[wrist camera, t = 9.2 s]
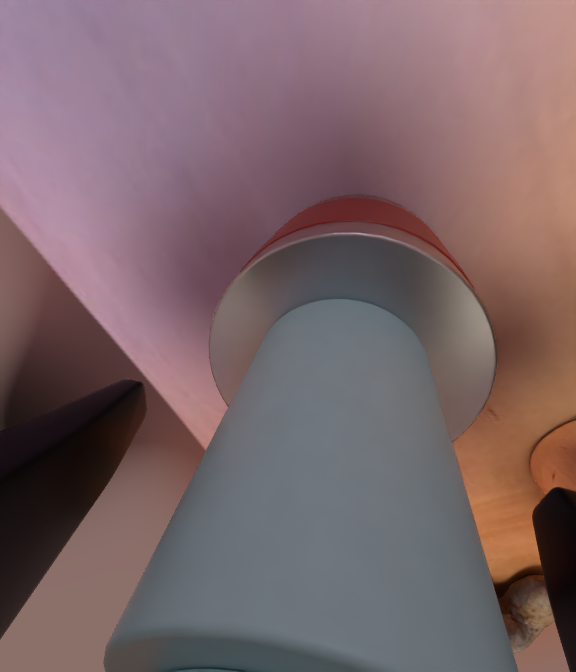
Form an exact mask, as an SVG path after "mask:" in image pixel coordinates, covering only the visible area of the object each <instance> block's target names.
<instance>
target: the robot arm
mask: <svg viewBox="0 0 576 672" xmlns="http://www.w3.org/2000/svg"><path fill="white" fill-rule="evenodd" d="M146 404H147V403H146V393H145V386H144V384H143V383H142V382H140V381H136V380H132V379H123V380H120V381H118V382H116V383H113V384H111V385H109V386H106V387H104V388H101V389H99V390H97V391H94V392H92V393H90V394H87V395H85V396H83V397H80V398H78V399H76V400H73V401H71V402H68V403H66V404H64V405H61V406H59V407H57V408H54V409H52V410H50V411H47V412H45V413H42V414H40V415H38V416H35V417H33V418H31V419H28V420H26V421H23V422H22V423H19V424H16V425H14V426H12V427H9V428H7V429H5V430H2V431H0V639H1V638H2V636H3V635H4V633H5V632H6V630H7V629H8V628H9V626H10V625H11V623H12V622H13V620H14V619H15V617H16V616H17V614H18V613H19V612H20V610H21V608H22V607H23V606H24V604H25V603H26V602H27V600H28V598H29V597H30V596H31V594H32V593H33V591H34V590H35V588H36V587H37V586H38V584H39V583H40V581H41V580H42V578H43V577H44V575H45V574H46V573H47V571H48V570H49V568H50V567H51V565H52V564H53V562H54V561H55V559H56V558H57V557H58V555H59V553H60V552H61V551H62V549H63V548H64V546H65V545H66V544H67V542H68V541H69V539H70V538H71V536H72V535H73V533H74V532H75V530H76V529H77V528H78V526H79V525H80V523H81V522H82V520H83V519H84V517H85V516H86V515H87V513H88V512H89V510H90V509H91V507H92V506H93V504H94V503H95V501H96V500H97V499H98V497H99V496H100V494H101V493H102V491H103V490H104V488H105V487H106V485H107V484H108V482H109V481H110V479H111V478H112V476H113V474H114V473H115V471H116V469H117V468H118V466H119V464H120V462H121V460H122V459H123V457H124V455H125V453H126V451H127V449H128V447H129V446H130V444H131V442H132V440H133V438H134V437H135V435H136V433H137V431H138V429H139V428H140V426H141V424H142V422H143V420H144V418H145V415H146V412H147V405H146ZM532 519H533V526H534V531H535V535H536V540H537V545H538V550H539V555H540V560H541V565H542V570H543V575H544V580H545V585H546V590H547V594H548V598H549V602H550V606H551V610H552V613H553V617H554V620H555V623H556V626H557V630H558V633H559V637H560V640H561V643H562V647H563V650H564V653H565V657H566V660H567V663H568V666H569V670H570V672H576V491H574V490H570V489H566V488H562V487H554V488H552V489H551V490H550V491H549V492H548V493H547V494H546V496H545V497H544V498H543V499H542V500H541V501H540V503H539V504H538V505H537V506H536V507H535V509H534V511H533V515H532Z"/></svg>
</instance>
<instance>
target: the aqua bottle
mask: <svg viewBox="0 0 576 672" xmlns="http://www.w3.org/2000/svg"><path fill="white" fill-rule="evenodd" d="M104 667H105V671H106V672H518V669H517V665H516V662H515V658H514V655H513V651H512V648H511V644H510V641H509V637H508V634H507V631H506V627H505V624H504V620H503V617H502V613H501V610H500V606H499V603H498V599H497V596H496V593H495V589H494V586H493V582H492V579H491V575H490V572H489V568H488V565H487V561H486V558H485V554H484V551H483V548H482V544H481V541H480V537H479V534H478V530H477V527H476V523H475V520H474V516H473V513H472V509H471V506H470V503H469V499H468V496H467V492H466V489H465V485H464V482H463V478H462V475H461V471H460V468H459V465H458V461H457V458H456V454H455V451H454V447H453V444H452V440H451V437H450V433H449V430H448V426H447V423H446V420H445V416H444V413H443V409H442V406H441V402H440V399H439V395H438V392H437V388H436V385H435V382H434V378H433V375H432V371H431V368H430V364H429V361H428V358H427V355H426V352H425V349H424V347H423V345H422V343H421V341H420V340H419V338H418V337H417V336H416V334H415V333H414V332H413V330H412V329H411V328H410V327H409V326H408V325H407V324H406V323H404V322H403V321H402V320H400V319H399V318H398V317H397V316H395V315H393V314H392V313H390V312H388V311H386V310H385V309H382V308H380V307H378V306H375V305H373V304H369V303H365V302H362V301H356V300H350V299H327V300H320V301H315V302H311V303H308V304H305V305H302V306H299V307H297V308H296V309H294V310H292V311H290V312H288V313H287V314H285V315H284V316H282V317H281V318H280V319H279V320H278V321H277V322H276V323H274V324H273V326H272V327H271V328H270V329H269V331H268V332H267V333H266V335H265V337H264V339H263V340H262V342H261V344H260V346H259V348H258V350H257V352H256V354H255V356H254V358H253V360H252V362H251V364H250V366H249V368H248V370H247V372H246V374H245V376H244V378H243V380H242V381H241V383H240V385H239V387H238V389H237V391H236V393H235V395H234V397H233V399H232V401H231V403H230V405H229V407H228V409H227V411H226V413H225V415H224V417H223V419H222V421H221V423H220V424H219V426H218V428H217V430H216V432H215V434H214V436H213V438H212V440H211V442H210V444H209V446H208V448H207V450H206V452H205V454H204V456H203V458H202V460H201V462H200V464H199V466H198V467H197V469H196V472H195V474H194V475H193V477H192V479H191V481H190V483H189V485H188V487H187V489H186V491H185V493H184V495H183V497H182V499H181V501H180V503H179V505H178V507H177V509H176V510H175V513H174V514H173V516H172V518H171V520H170V522H169V524H168V526H167V528H166V530H165V532H164V534H163V536H162V538H161V540H160V542H159V544H158V546H157V548H156V550H155V552H154V553H153V555H152V557H151V559H150V561H149V563H148V565H147V567H146V569H145V571H144V573H143V575H142V577H141V579H140V581H139V583H138V585H137V587H136V589H135V591H134V593H133V595H132V597H131V598H130V600H129V602H128V604H127V606H126V608H125V610H124V612H123V614H122V616H121V618H120V620H119V622H118V624H117V626H116V628H115V630H114V632H113V634H112V636H111V638H110V640H109V641H108V643H107V646H106V651H105V657H104Z"/></svg>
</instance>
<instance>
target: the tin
mask: <svg viewBox="0 0 576 672" xmlns="http://www.w3.org/2000/svg"><path fill="white" fill-rule="evenodd" d="M327 299H350V300H356V301H362V302H365V303H369V304H373V305H375V306H378V307H380V308H382V309H385V310H386V311H388V312H390V313H392V314H393V315H395V316H397V317H398V318H399V319H400V320H402V321H403V322H404V323H406V324H407V325H408V326H409V327H410V328H411V329H412V330H413V332H414V333H415V334H416V336H417V337H418V338H419V340H420V341H421V343H422V345H423V347H424V349H425V352H426V355H427V358H428V361H429V364H430V368H431V371H432V375H433V378H434V382H435V385H436V388H437V392H438V395H439V399H440V402H441V406H442V409H443V413H444V416H445V420H446V423H447V426H448V430H449V433H450V437H451V440H452V442H453V441H454V440H455V439H457V438H458V437H459V436H460V435H461V434H463V433H464V432H465V431H466V430H467V428H468V427H469V426H470V425H471V424H472V423H473V422H474V421H475V419H476V418H477V416H478V415H479V414H480V412H481V411H482V409H483V408H484V406H485V404H486V401H487V399H488V397H489V395H490V393H491V390H492V386H493V383H494V380H495V376H496V368H497V342H496V338H495V333H494V329H493V325H492V322H491V320H490V318H489V315H488V313H487V311H486V308H485V306H484V305H483V303H482V301H481V300H480V298H479V297H478V295H477V294H476V292H475V290H474V288H473V286H472V284H471V283H470V281H469V280H468V278H467V277H466V275H465V274H464V272H463V271H462V269H461V268H460V267H459V265H458V264H457V263H456V261H455V260H454V259H453V257H452V256H451V255H450V253H449V252H448V251H447V249H446V248H445V247H444V245H443V244H442V243H441V241H440V240H439V239H438V237H437V236H436V235H435V234H434V233H433V232H432V230H431V229H430V228H429V227H428V226H427V225H426V224H424V222H423V221H422V220H421V219H419V218H418V217H417V216H416V215H415V214H413V213H412V212H411V211H409V210H407V209H406V208H404V207H402V206H401V205H399V204H396V203H394V202H392V201H389V200H387V199H383V198H379V197H375V196H368V195H344V196H338V197H332V198H329V199H326V200H323V201H320V202H318V203H315V204H313V205H311V206H309V207H307V208H306V209H304V210H303V211H301V212H299V213H298V214H297V215H295V216H294V217H293V218H291V219H290V220H289V221H288V222H287V223H285V224H284V225H283V226H282V227H281V228H280V229H279V230H278V231H277V232H276V233H275V234H274V235H273V236H272V237H271V238H270V239H269V240H268V241H267V242H266V243H265V244H264V245H263V246H262V247H261V249H260V250H259V251H258V252H257V253H256V254H255V255H254V256H253V257H252V258H251V259H250V260H249V261H248V263H247V264H246V265H245V266H244V267H243V268H242V270H241V271H240V273H239V274H238V276H237V277H236V278H235V279H234V280H233V281H232V282H231V283H230V285H229V286H228V288H227V289H226V291H225V293H224V294H223V296H222V297H221V299H220V301H219V303H218V306H217V308H216V310H215V312H214V316H213V320H212V323H211V327H210V336H209V359H210V364H211V369H212V374H213V377H214V380H215V383H216V386H217V388H218V390H219V392H220V394H221V396H222V398H223V400H224V401H225V403H226V404H227V406H228V407H229V405H230V403H231V401H232V399H233V397H234V395H235V393H236V391H237V389H238V387H239V385H240V383H241V381H242V380H243V378H244V376H245V374H246V372H247V370H248V368H249V366H250V364H251V362H252V360H253V358H254V356H255V354H256V352H257V350H258V348H259V346H260V344H261V342H262V340H263V339H264V337H265V335H266V333H267V332H268V331H269V329H270V328H271V327H272V326H273V324H274V323H276V322H277V321H278V320H279V319H280V318H281V317H282V316H284V315H285V314H287V313H288V312H290V311H292V310H294V309H296V308H297V307H299V306H302V305H305V304H308V303H311V302H315V301H320V300H327Z"/></svg>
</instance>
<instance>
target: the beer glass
mask: <svg viewBox="0 0 576 672" xmlns="http://www.w3.org/2000/svg"><path fill="white" fill-rule="evenodd" d="M530 470H531V474H532V476H533V478H534V480H535V482H536V483H537V485H538V486H539V488H540V489H541V490H542V491H543V493H544V494H545V495H546V494H547V493H548V492H549V491H550V490H551V489H552V488H554V487H562V488H566V489H570V490H574V491H576V420H575V421H572V422H570V423H567V424H565V425H563V426H561V427H559V428H557V429H555V430H554V431H552V432H551V433H549V434H548V435H547V436H546V437H544V438H543V439H542V440H541V441H540V442H539V444H538V445H537V446H536V448H535V449H534V451H533V453H532V455H531V459H530Z"/></svg>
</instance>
